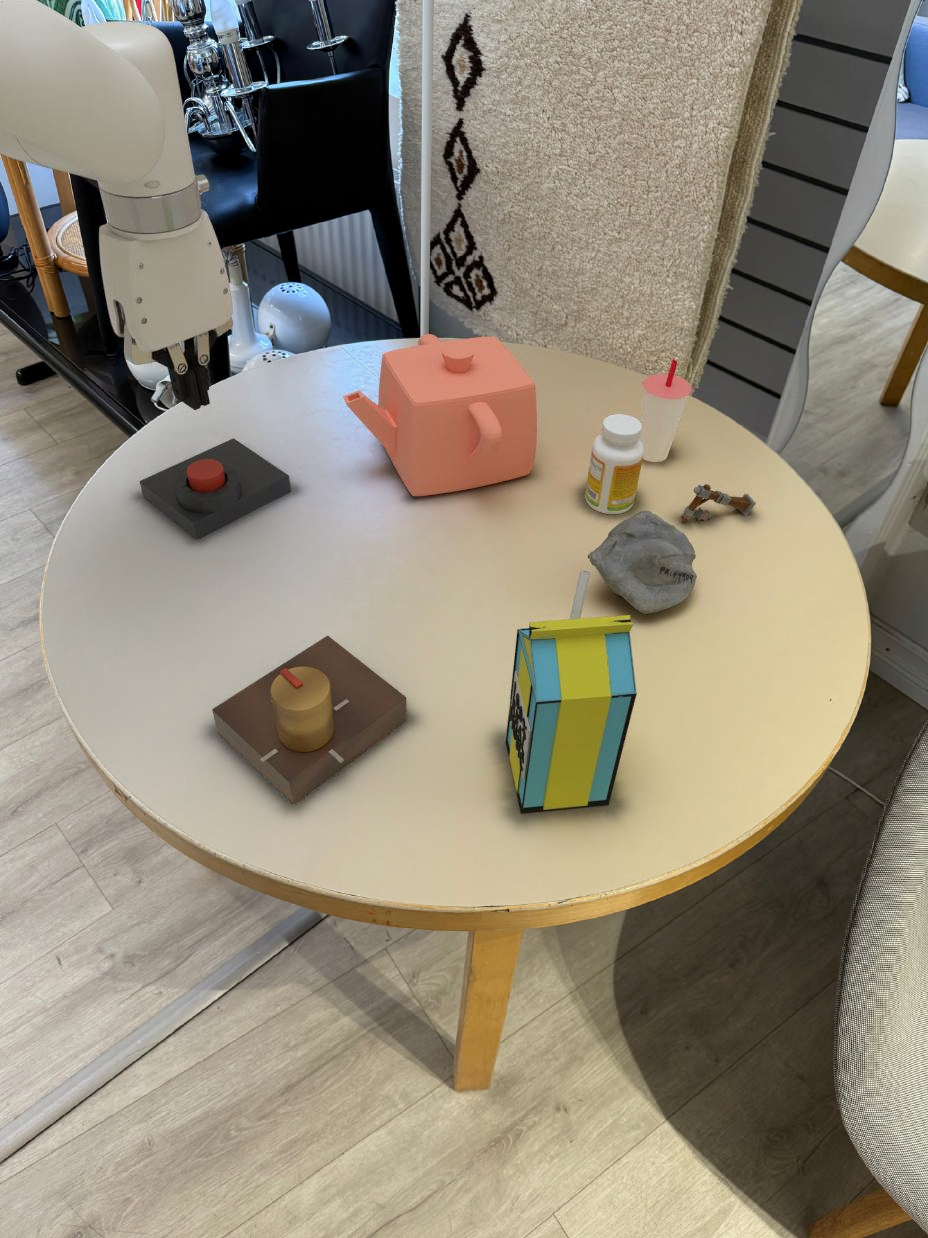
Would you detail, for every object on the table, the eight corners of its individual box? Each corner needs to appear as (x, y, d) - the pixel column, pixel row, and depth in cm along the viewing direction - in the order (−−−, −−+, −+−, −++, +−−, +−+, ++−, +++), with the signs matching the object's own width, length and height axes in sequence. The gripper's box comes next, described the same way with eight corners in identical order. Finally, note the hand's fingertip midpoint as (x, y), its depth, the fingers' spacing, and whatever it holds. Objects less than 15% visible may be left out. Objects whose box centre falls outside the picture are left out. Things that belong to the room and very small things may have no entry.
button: (202, 497, 91) (200, 483, 90) (182, 482, 93) (179, 468, 92) (232, 483, 93) (230, 469, 92) (212, 468, 95) (209, 454, 94)
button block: (198, 541, 92) (191, 510, 89) (143, 497, 97) (135, 466, 94) (292, 493, 98) (289, 462, 95) (236, 454, 103) (231, 423, 100)
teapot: (481, 402, 113) (486, 294, 103) (554, 503, 98) (569, 389, 89) (325, 428, 107) (315, 317, 98) (378, 540, 93) (373, 422, 83)
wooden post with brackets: (671, 512, 96) (694, 477, 94) (724, 524, 100) (748, 491, 98) (679, 522, 95) (703, 487, 93) (733, 534, 99) (757, 501, 97)
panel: (301, 818, 69) (297, 794, 67) (214, 734, 74) (207, 709, 72) (418, 729, 75) (417, 704, 73) (330, 658, 81) (327, 633, 79)
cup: (684, 453, 106) (706, 360, 98) (659, 473, 103) (680, 378, 95) (646, 436, 108) (664, 343, 100) (620, 454, 106) (637, 360, 97)
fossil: (619, 640, 83) (633, 575, 78) (563, 583, 89) (572, 518, 83) (710, 601, 88) (730, 537, 82) (651, 549, 93) (666, 485, 88)
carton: (588, 727, 76) (622, 564, 63) (612, 805, 70) (653, 643, 58) (501, 735, 75) (517, 570, 63) (518, 814, 70) (540, 652, 57)
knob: (346, 731, 71) (341, 686, 67) (300, 762, 69) (293, 717, 65) (311, 700, 73) (305, 654, 70) (266, 729, 71) (258, 683, 67)
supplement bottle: (639, 494, 100) (655, 417, 93) (625, 521, 96) (640, 443, 90) (593, 481, 102) (605, 404, 95) (577, 507, 98) (589, 429, 91)
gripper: (203, 170, 80) (234, 360, 92) (43, 214, 72) (102, 415, 85) (254, 194, 76) (280, 388, 89) (93, 243, 68) (147, 448, 81)
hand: (193, 401), depth 87 cm, fingers closed
